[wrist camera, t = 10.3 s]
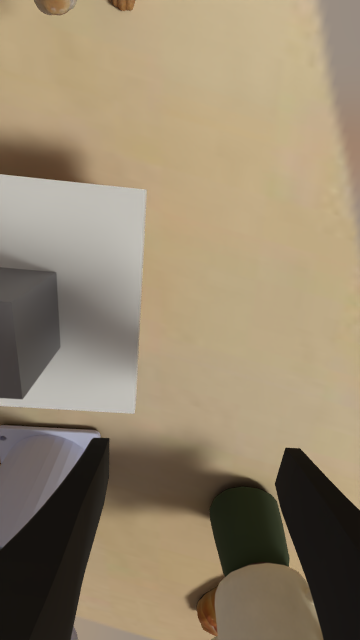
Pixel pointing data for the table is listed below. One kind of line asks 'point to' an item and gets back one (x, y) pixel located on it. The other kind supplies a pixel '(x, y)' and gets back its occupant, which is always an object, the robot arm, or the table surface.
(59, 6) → the lion figurine
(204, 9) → the table surface
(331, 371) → the table surface
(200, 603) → the pastry
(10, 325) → the lid
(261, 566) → the character mug
